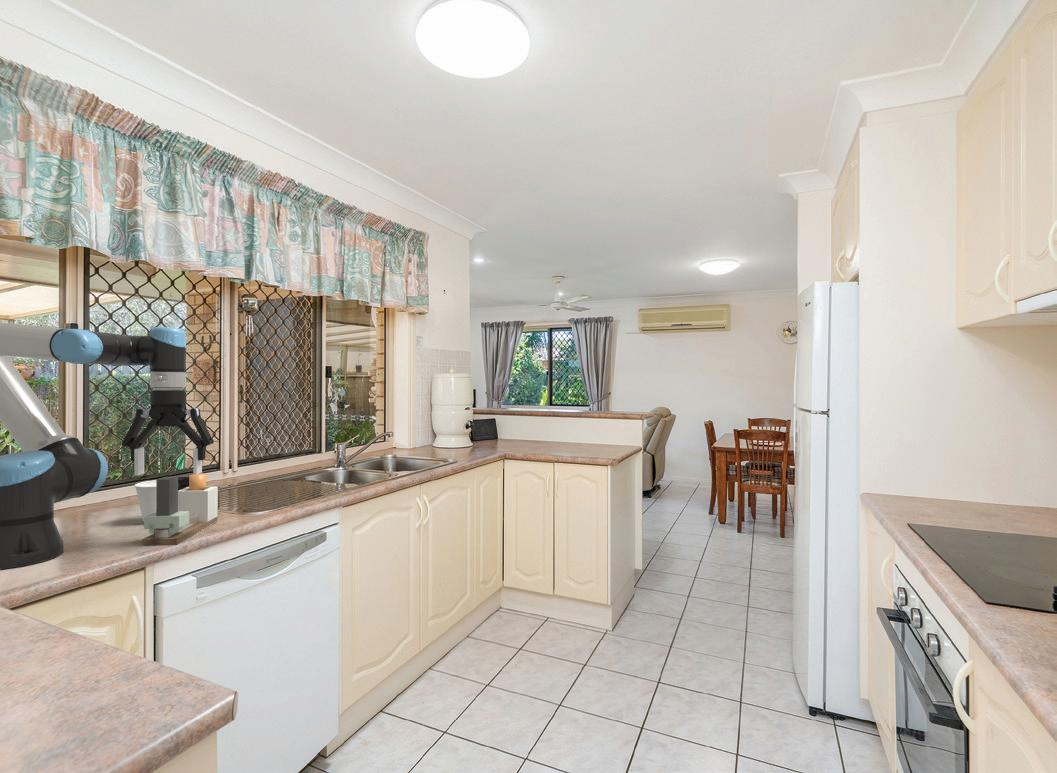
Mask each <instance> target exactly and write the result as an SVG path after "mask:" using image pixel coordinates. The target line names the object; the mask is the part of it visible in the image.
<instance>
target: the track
mask: <svg viewBox="0 0 1057 773" xmlns="http://www.w3.org/2000/svg"><path fill="white" fill-rule="evenodd" d="M217 520H218V516H217V517H215V518H214V519H212V520H210V521H208V522H198V515H189V523H188V524H186V525H184V528H183V529H181V530H179V531H177V532H175V533H169V528H163V529H156V530H155V533H154V534H149V535H147V536H146V537H143V538H142V539H141V546H142V545H145V546H175V545H176V546H177V545H178V544H181V543H182V542H184V541H186V540H188V539H190V538H192V537H194V534H195V535H196V533H197V532H198V533H200V532H201V530H202V529H204V528H205V529H207V528H208V527H207V526H209V525H210V524H212V523H214V522H215V521H217ZM214 524H215V523H214ZM212 525H213V524H212ZM206 527H207V528H206ZM209 527H210V526H209ZM205 529H204V530H205ZM199 531H200V532H199ZM202 531H203V530H202ZM198 533H197V534H198ZM187 538H188V539H187ZM185 539H186V540H185Z"/></svg>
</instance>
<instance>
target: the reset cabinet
mask: <svg viewBox="0 0 1057 773" xmlns="http://www.w3.org/2000/svg"><path fill="white" fill-rule="evenodd" d="M218 490H219V486H206V489H205V490H203V491H189V487H187V488H184V489H181V490H179V491H178V511H189V515H198V522H208V521H210V520H212V519H214V518H215V517H217V516H218V512H219V511H218V507H219V506H218V501H219V500H218V499H219V496H218V495H219V493H218Z"/></svg>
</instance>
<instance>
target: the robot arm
mask: <svg viewBox="0 0 1057 773" xmlns="http://www.w3.org/2000/svg"><path fill="white" fill-rule="evenodd" d="M186 339H187V338H186V332H185V331H184V329H182V328H180V327H179V328H178V327H172V326H171V327H170V326H168V327H167V326H154V327H151V328H150V329H149V334H148V335H128V334H127V335H126V334H118V333H110V332H102V331H101V332H100V331H93V330H88V329H81V328H63V327H53V326H42V325H32V324H22V323H21V324H20V323H10V322H2V321H1V320H0V422H1V423H2V425H3V426H4V427H5V429H6V430H7V431H8V432H9V434H10V435H11V437H12V438H13V440H14V441H15V442H16V443H17V444H18V446H19V447H20V449H21V450H22V451H20V452H13V453H7V454H3V455H0V570H3V569H14V568H20V567H23V566H30V565H34V564H38V563H43V562H46V561H49V560H52V559H55V558H57V557H59V556H61V555H62V554H64V550H65V549H64V546H65V544H64V540H63V539H62V537H61V533H60V531H59V529H58V527H57V524H56V523H55V518H54V514H55V512H54V511H55V504H56V503H61V502H64V501H65V502H66V501H67V500H73V499H76V498H77V499H78V498H82V497H85V496H86V495H88V494H91V493H94V492H95V491H97V490H98V489H99V488H101V486H102V485H103V484H104V483H105V482H106V479H107V475H108V473H109V465H108V462H107V459H106V457H105V456H104V455H103V453H102V452H100V451H99V450H97V449H92V448H90V447H89V448H88V447H87V448H86V447H85V446H84V445H83V443H82V442H81V441H80V440H79V438H78V437H77V436H74V435H73V436H72V435H67V434H66V433H65V431H64V430H63V429H62V428H61V426H60V425H59V424H58V423H57V420H55V418H54V417H53V416H52V414H51V413H50V412H49V410H48V409H47V408H46V406H45V405H44V403H42V401H41V400H40V398H39V397H38V396H37V395H36V393H35V392H34V391H33V389H32V388H31V386H30V385H29V384H28V382H27V381H26V380H25V378H24V377H23V375H22V374H21V373H20V372H19V371H18V368H17V367H16V366H15V365H14V364H13V362H12V361H11V358H18V359H19V358H20V359H29V360H30V359H31V360H42V361H52V362H53V361H54V362H63V363H64V362H65V363H70V364H74V365H75V364H76V365H104V366H112V367H123V366H125V367H126V366H130V367H131V366H136V367H137V366H145V367H146V366H149V387H150V388H151V389H152V390H150V391H149V403H150V409H146V408H137V409H136V410H135V416H134V417H135V418H134V419H133V421H132V423H131V425H130V427H129V428H128V431H127V433H126V434H125V437H124V439H123V440H122V442H121V445H122V447H126V448H129V449H130V460H131V462H132V463H133V462H134V464H133V465H134V466H133V467H134V476H141V475H144V474H145V447H142V445H144V443H145V442H146V441H147V440H148V439H149V438H150V436H151V435H152V434H153V433H154V432H155V431H156V429H157V428H159V427H160V428H161V427H162V428H165V427H170V428H171V427H177V428H178V429H180V430H181V431H182V432H183V434H185V435H186V437H188V439H189V440H190V441H191V442H192V443H193V444H194V445H195V446H196V447H194V448H193V447H192V448H193V449H192V450H193V454H192V456H193V461H192V462H193V468H192V470H193V474H200V473H203V461H204V460H206V448H207V446H210V445H213V444H214V438H213V437H212V435H211V433H210V431H209V430H208V427H207V425H206V424H205V422H204V420H203V419H202V416H201V409H200V408H198V407H197V408H191V409H187V407H186V405H187V391H186V390H185V389H186V388H187V369H186V368H187V367H186V365H187V364H186V363H187V361H186V360H187V359H186V358H187V340H186ZM187 415H188V417H189V418H191V421H192V424H193V425H194V427H195V429H196V430H195V429H194V428H193V427H192V426H191V425H190V423H189V422H188V421H187V419H186V417H187ZM149 416H150V418H151V420H150V421H149V422H148V424H147V426H146V427H145V428H144V429H143V430H142V431H141V429H142V427H143V426H144V424H145V423H146V422H145V421H147V420H146V419H147V418H148V417H149ZM140 431H141V432H140ZM196 431H197V432H196ZM139 433H140V434H139ZM138 434H139V435H138Z"/></svg>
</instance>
